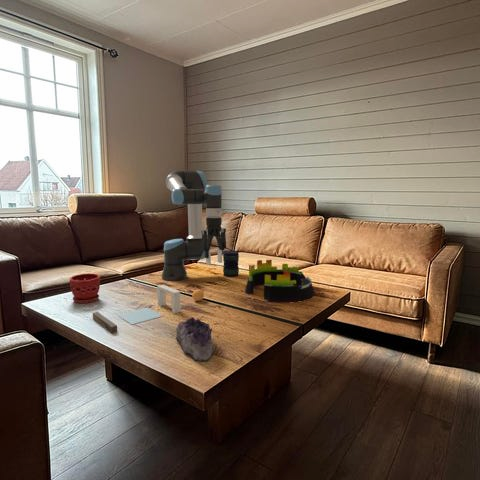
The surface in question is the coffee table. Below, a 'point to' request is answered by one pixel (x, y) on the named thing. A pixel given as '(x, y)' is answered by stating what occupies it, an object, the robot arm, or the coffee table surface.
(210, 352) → the geode
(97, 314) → the wall
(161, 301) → the bridge
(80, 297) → the plant pot
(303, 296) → the curved castle wall
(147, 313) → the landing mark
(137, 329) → the coffee table surface
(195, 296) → the ball
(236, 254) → the storage jar
